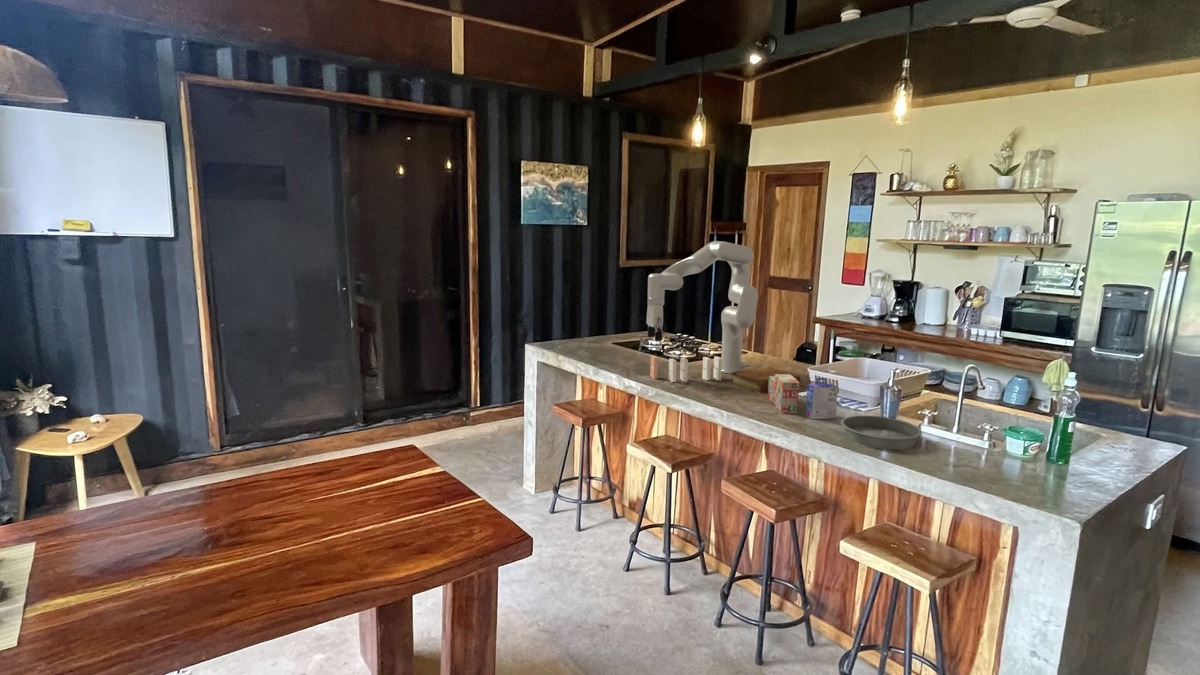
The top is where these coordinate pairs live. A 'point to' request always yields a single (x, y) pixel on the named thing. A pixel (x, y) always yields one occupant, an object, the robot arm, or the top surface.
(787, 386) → the stack of blocks
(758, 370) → the diary
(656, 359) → the terracotta domino
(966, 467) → the top surface
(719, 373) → the end domino
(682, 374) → the domino
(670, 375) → the head domino
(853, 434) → the cake pan
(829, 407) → the ink cartridge box
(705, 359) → the domino
